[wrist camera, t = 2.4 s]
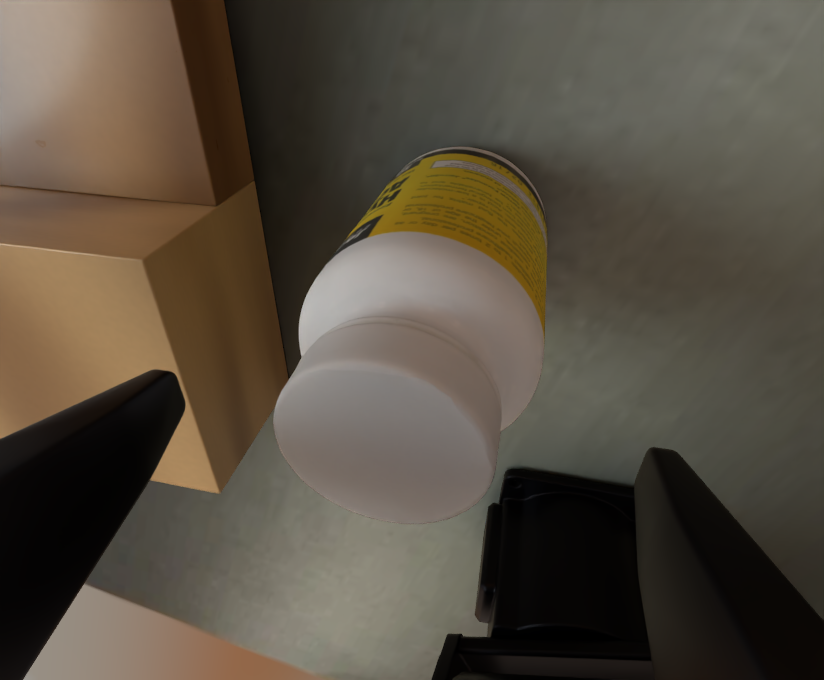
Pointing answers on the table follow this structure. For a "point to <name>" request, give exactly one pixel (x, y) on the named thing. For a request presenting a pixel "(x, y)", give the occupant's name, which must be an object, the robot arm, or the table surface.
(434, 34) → the table surface
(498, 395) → the supplement bottle
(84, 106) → the shelf riser
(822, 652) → the robot arm
